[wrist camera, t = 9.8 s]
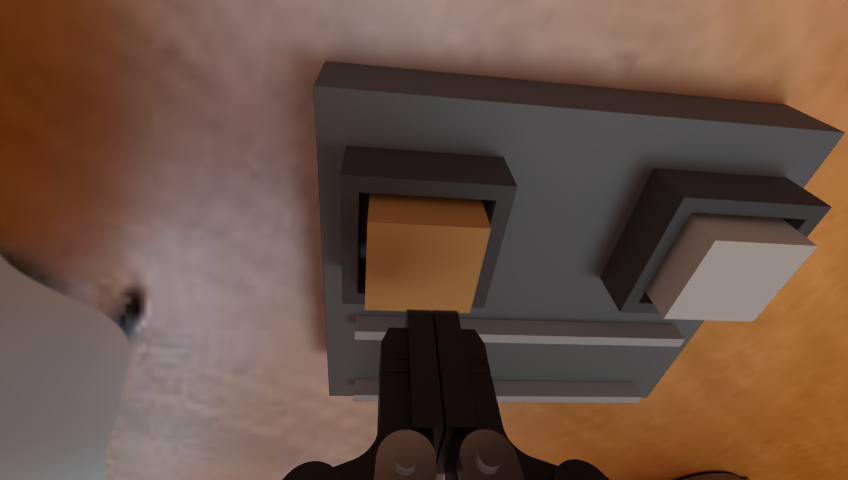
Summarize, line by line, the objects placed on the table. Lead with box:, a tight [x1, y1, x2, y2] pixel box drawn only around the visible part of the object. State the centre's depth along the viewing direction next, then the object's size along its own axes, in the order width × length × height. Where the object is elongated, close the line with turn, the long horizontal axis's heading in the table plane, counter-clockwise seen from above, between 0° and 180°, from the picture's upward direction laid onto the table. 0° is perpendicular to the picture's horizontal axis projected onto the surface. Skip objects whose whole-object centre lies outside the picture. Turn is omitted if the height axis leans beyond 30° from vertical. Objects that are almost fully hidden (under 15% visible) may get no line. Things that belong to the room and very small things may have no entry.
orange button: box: [365, 193, 491, 313], centre depth 15 cm, size 4×4×2 cm
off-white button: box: [645, 213, 817, 322], centre depth 17 cm, size 4×4×2 cm
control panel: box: [314, 61, 845, 403], centre depth 21 cm, size 20×18×5 cm
